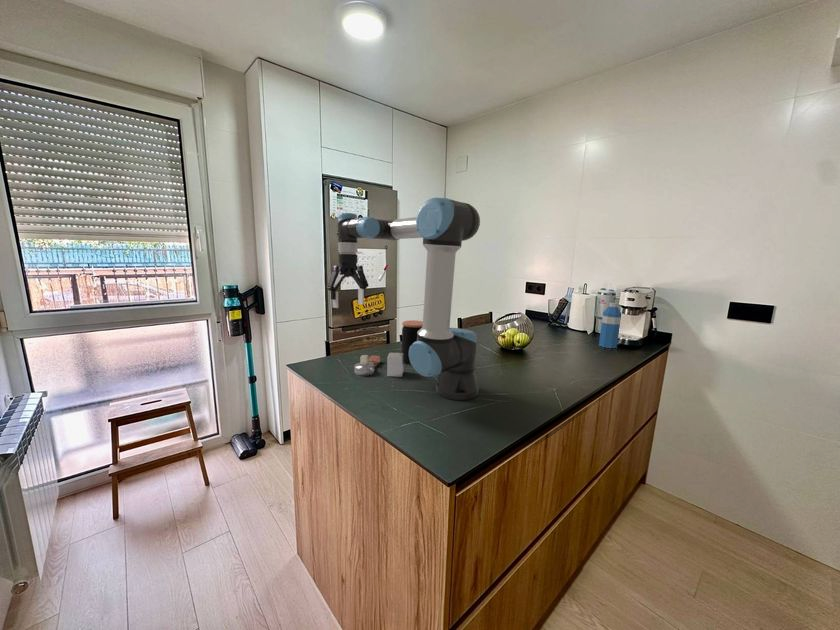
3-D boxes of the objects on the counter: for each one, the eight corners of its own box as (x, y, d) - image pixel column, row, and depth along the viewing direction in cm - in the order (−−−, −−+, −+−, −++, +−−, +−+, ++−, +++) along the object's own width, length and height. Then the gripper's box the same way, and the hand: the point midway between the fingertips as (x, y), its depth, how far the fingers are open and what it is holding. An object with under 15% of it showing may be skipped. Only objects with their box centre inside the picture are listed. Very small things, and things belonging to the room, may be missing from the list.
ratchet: (370, 376, 131) (370, 359, 130) (351, 374, 133) (351, 358, 132) (384, 362, 149) (384, 347, 147) (367, 360, 150) (367, 345, 149)
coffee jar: (429, 360, 153) (430, 322, 150) (416, 366, 144) (417, 326, 141) (410, 356, 159) (410, 319, 156) (396, 361, 150) (397, 323, 147)
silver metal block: (403, 371, 138) (403, 353, 137) (402, 376, 132) (402, 357, 131) (389, 370, 138) (389, 352, 137) (387, 376, 132) (387, 357, 131)
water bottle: (601, 348, 181) (607, 303, 176) (595, 344, 190) (601, 301, 185) (620, 350, 180) (626, 304, 175) (613, 345, 189) (619, 302, 184)
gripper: (364, 253, 145) (364, 301, 149) (315, 252, 125) (317, 308, 129) (376, 254, 140) (376, 303, 144) (328, 253, 121) (329, 310, 125)
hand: (348, 305), depth 137 cm, fingers open, 13 cm apart
